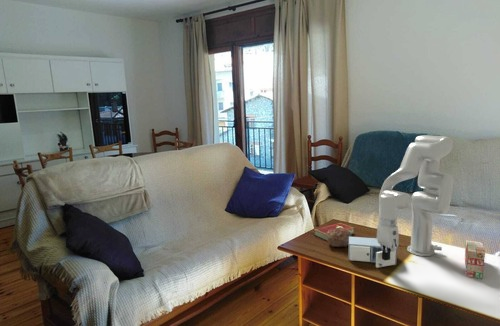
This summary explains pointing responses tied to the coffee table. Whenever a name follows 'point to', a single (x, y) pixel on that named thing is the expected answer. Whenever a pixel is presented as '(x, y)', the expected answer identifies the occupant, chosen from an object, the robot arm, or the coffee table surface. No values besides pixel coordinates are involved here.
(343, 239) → the decorative rock
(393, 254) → the left door
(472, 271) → the stack of blocks
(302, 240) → the coffee table surface
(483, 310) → the coffee table surface
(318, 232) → the hardcover book
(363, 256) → the cabinet
